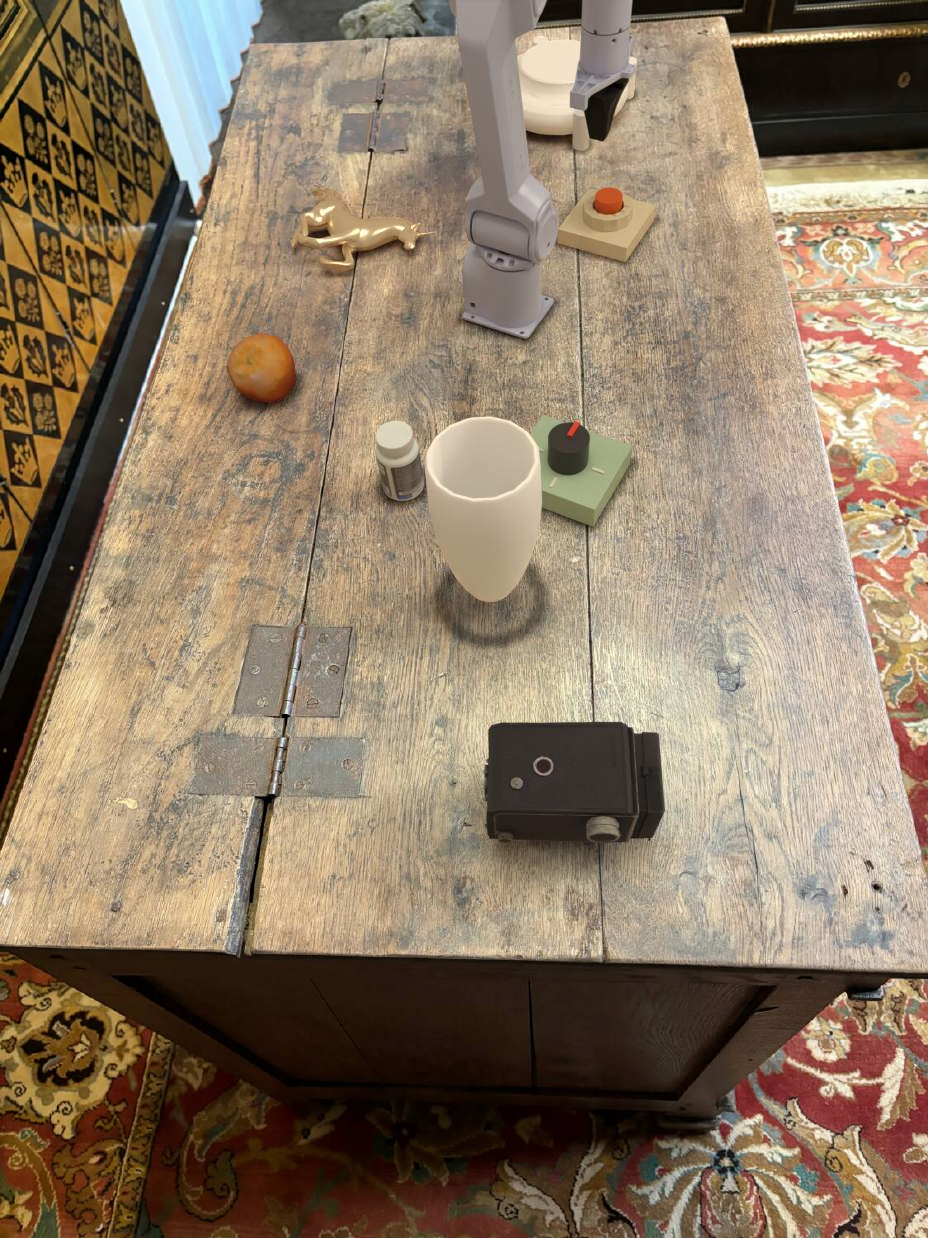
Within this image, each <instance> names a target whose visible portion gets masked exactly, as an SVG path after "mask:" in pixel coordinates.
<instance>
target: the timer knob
mask: <svg viewBox="0 0 928 1238" xmlns="http://www.w3.org/2000/svg"><path fill="white" fill-rule="evenodd" d="M565 422H566V421H565ZM587 430H588V429H587V428H586V427H585V426H583V425H582V424H581V422H580V421H576V420H575V421H574V422H571V421H567V422H566V423H561V424H558V425H556V426H555V427H553V428H552V429H551V431H550V432H549V435H548V464H549V466H550V467H551V469H552V470H554V471H555V472H557V473H559V474H563V475H573V474H577V473H579V472H581V471H582V470H584V468H585V467H586V466H587V464H588V456H589V444H590V435H589V432H588V431H587Z"/></svg>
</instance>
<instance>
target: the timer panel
mask: <svg viewBox="0 0 928 1238" xmlns="http://www.w3.org/2000/svg"><path fill="white" fill-rule="evenodd" d="M561 423H566V421H563V420H560V419H557V418H555V417H552V416H549V415H545V414H542V415H541V416H540V418H539V419H538V420H537V422H536V424H535V425H534V427H533V428H532V429H531V431H530V432H529V434H530V435H531V437H532V438H533V440H534V441H535V443H536V444H537V445H538V447H539V454H540V464H541V489H542V508H541V509H545V510H547V511H550V512H552V513H556V514H558V515H559V516H563V517H565V518H569V519H571V520H573V521H575V522H579V523H582V524H584V525H587V526H589V527H592V528H594V527H595V526H596V523H597V522H598V520H599V518H600V516H601V515H602V513H603V512H604V510H605V508H606V507H607V505H608V503H609V501H610V499H611V498H612V496H613V494H614V493H615V491H616V490H617V487H618V486H619V484H620V482H621V480H622V479H623V477H624V475H625V473H627V470H628V468H629V467H630V465H631V462H632V454H633V447H634V446H633V445H632V444H629V443H626V442H623V441H621V440H618V439H616V438H613V437H609V436H606V435H604V434H601V433H598V432H595V431H592V430H589V429H587V431H588V432H589V435H590V444H589V456H588V464H587V466H586V467H585V468H584V470H582V471H581V472H579V473H577V474H573V475H563V474H559V473H557V472H555V471H554V470H552V469H551V467H550V466H549V464H548V435H549V432H550V431H551V429H552V428H553V427H555V426H556V425H558V424H561Z"/></svg>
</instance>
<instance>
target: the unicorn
mask: <svg viewBox="0 0 928 1238" xmlns="http://www.w3.org/2000/svg"><path fill="white" fill-rule="evenodd" d="M310 193H311V195H312V196H313V198H314V200H316V201H317V202H318V203H316V204H315V205H314V206H313V207H312V209H311V211H310V210H309V211H305V212H303V213H302V214H301V215H300V217H299V223H300V224H299V226H298V227H296V229H295V231H294V232H293V235H292V238H291V240H290V241H289V244H290V248H291V249H292V250H294V249H296V247H297V246H298V245H299V243H300V245H302V246H303V247H307V248H312V249H313V248H314V249H318V250H323V249H326V248H331V247H332V248H333V247H336V246H341V254H342V257H343V258H344V261H336V260H332V259H328V258H327V257H326V256H324V255H318V261H319V265H320V266H321V267H322V268H323V269H325V270H328V271H332V272H350V271H352V270H353V269H354V267H355V264H356V263H355V259H354V257H353V254H355V253H357V252H367V251H371V250H374V249H377V248H380V247H382V246H384V245H386V244H388V243H391V242H394V241H397V240H399V241H400V242H401V243H402V244H403V248H404V250H406V251H412V250H413V249H414V248H416V241H417V240H418V239H419V237H424V236H427V235H432V234H436V233H437V231H431V232H430V231H428V232H418V231H419V229H420V227H421V222H417V223H415V224H413V223H412V222H411V221H410V220H407V219H405V218H401V217H399V215H396V216H388V215H375V216H373V215H370V214H368V215H367V218H360V217H357V216H354V215H352V213H351V211H350V209H349V207H348V206H349V205H348V204H347V202H346V201H344V200H343V197H342V194H341V193H340V192H339V191H338V190H336V189H334V190H333V189H332V188H329V187H325V188H321V187H319V188H317V187H315V188H313V189H312V190H311V191H310ZM325 231H328V233H329V235H328V236H325V237H321V238H316V237H311V236H308V235H310V234H314V233H319V232H325Z"/></svg>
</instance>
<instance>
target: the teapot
mask: <svg viewBox="0 0 928 1238" xmlns="http://www.w3.org/2000/svg"><path fill="white" fill-rule="evenodd" d="M580 43H581V40H576V39H565V38H564V39H561V38H560V39H553V40H549V37H547V36H546V35H536V36H534V38H533V39H532V46H531V47H529V48H528V49H527V50H525V51H524V52H523V53H520V54H517V60H518V69H519V78H520V87H521V96H522V104H523V113H524V122H525V131H528V132H531V133H534V134H537V135H538V134H539V135H545V136H547V135H548V136H566V135H572V139H571V141H572V144H571V147H572V149H573V150H575V151H578V152H580V151H581V152H582V151H586V150H588V149H589V148H590V138H589V134H588V129H587V124H586V119H585V114H584V111H582V110H578V109H574V108H570V91H571V90H572V88H573V86H574V83H575V78H576V72H577V66H578V61H579V60H580ZM629 63H630V64H633V65H635V66H636V71H635V73H634V75H633V76H632V77H631V78H629V82H628V84H627V86H626V87H625V89H624V91H623V93H622V95H621V97H620V99H619V102H618V104H617V107H616V110H615V114H614V117H616V116H617V114H619V112H620V111H621V110H622V109H623V107H624V105H625V103H626V101H629V100H631V99H633V98H634V96H635V91H636V90H635V88H636V87H635V86H636V76H637V67H638V59H637V58H636V57H634V56H630V57H629Z"/></svg>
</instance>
